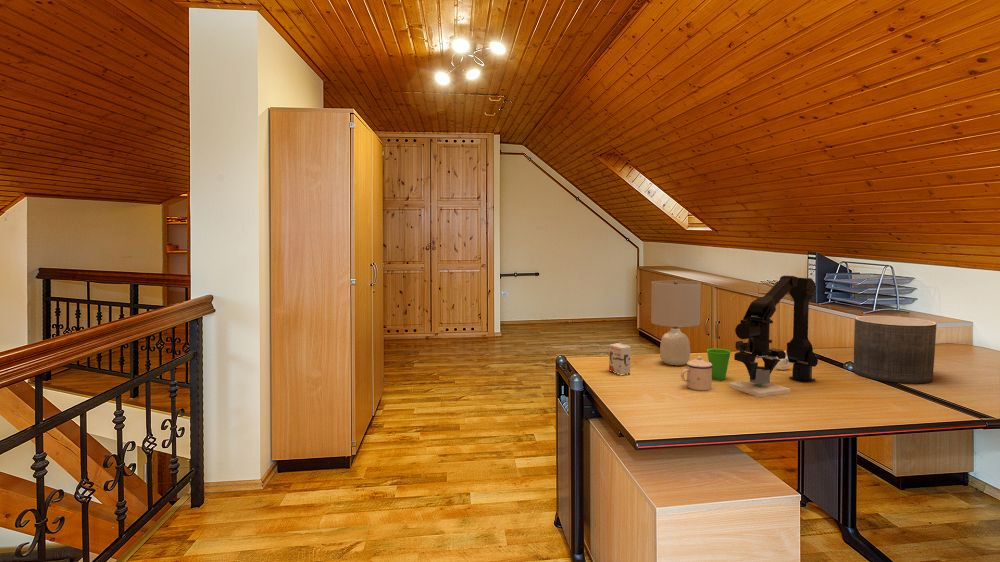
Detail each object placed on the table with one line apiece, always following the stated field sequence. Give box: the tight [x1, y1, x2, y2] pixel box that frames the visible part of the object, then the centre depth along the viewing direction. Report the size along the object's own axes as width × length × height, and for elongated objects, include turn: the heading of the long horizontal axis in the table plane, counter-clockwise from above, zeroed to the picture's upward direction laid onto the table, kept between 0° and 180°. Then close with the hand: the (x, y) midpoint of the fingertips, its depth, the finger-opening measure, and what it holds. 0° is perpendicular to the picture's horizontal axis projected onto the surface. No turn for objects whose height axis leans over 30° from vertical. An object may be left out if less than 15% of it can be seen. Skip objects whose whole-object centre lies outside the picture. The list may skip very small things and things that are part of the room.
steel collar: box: [749, 365, 771, 384], centre depth 187 cm, size 6×6×5 cm
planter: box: [852, 315, 937, 385], centre depth 203 cm, size 25×25×22 cm
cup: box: [705, 348, 732, 381], centre depth 203 cm, size 9×9×11 cm
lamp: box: [650, 280, 702, 367], centre depth 226 cm, size 20×20×37 cm
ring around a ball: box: [775, 350, 792, 371], centre depth 215 cm, size 8×6×8 cm
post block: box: [728, 379, 791, 398], centre depth 187 cm, size 14×14×8 cm
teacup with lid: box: [680, 355, 713, 391], centre depth 191 cm, size 12×9×12 cm
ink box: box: [608, 342, 632, 374], centre depth 213 cm, size 9×5×12 cm, turn 25°
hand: (759, 378), depth 187 cm, fingers closed on steel collar, 6 cm apart
